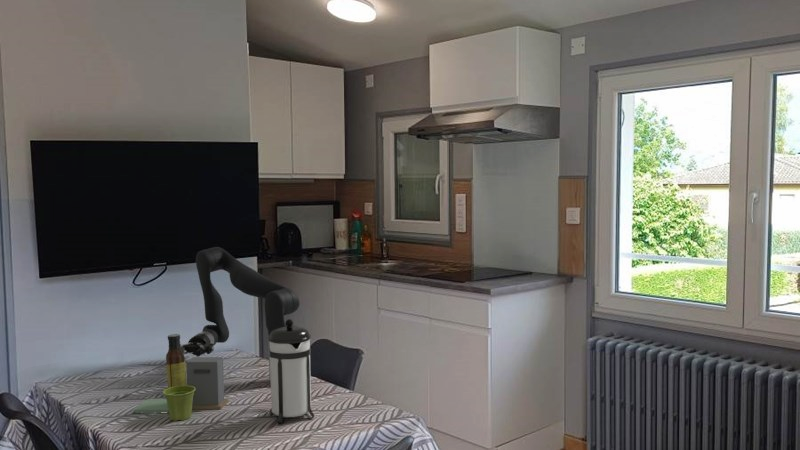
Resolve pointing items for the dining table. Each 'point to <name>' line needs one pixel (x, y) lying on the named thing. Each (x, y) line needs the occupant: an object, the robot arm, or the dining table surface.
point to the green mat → (153, 406)
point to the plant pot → (179, 401)
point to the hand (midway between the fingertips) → (185, 353)
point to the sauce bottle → (175, 363)
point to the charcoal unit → (206, 382)
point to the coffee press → (290, 372)
